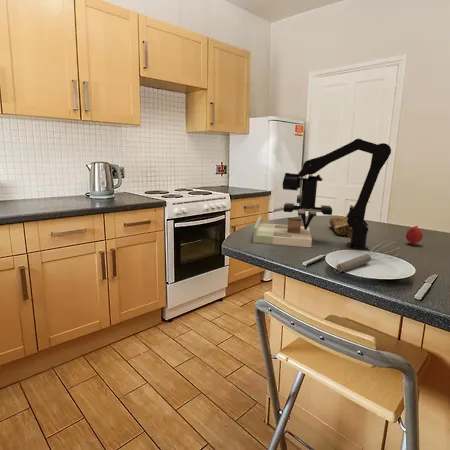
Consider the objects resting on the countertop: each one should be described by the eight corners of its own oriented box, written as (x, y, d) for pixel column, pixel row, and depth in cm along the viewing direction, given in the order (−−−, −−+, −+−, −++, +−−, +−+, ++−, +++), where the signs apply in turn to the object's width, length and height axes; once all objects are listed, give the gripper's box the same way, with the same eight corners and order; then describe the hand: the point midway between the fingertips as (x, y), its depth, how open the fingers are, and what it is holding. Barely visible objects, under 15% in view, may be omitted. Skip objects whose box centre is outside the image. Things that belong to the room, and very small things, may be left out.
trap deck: (311, 247, 126) (312, 232, 125) (253, 242, 130) (254, 227, 129) (308, 233, 147) (309, 220, 146) (258, 229, 151) (259, 216, 150)
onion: (412, 247, 132) (415, 227, 130) (401, 243, 137) (404, 224, 135) (424, 246, 133) (427, 227, 132) (412, 242, 139) (415, 223, 137)
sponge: (358, 241, 143) (359, 222, 159) (357, 224, 140) (358, 207, 157) (327, 242, 148) (330, 224, 165) (325, 226, 145) (329, 209, 162)
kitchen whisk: (326, 270, 104) (328, 251, 102) (385, 254, 123) (387, 237, 121) (343, 277, 99) (346, 257, 97) (401, 259, 118) (404, 242, 117)
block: (299, 233, 134) (301, 221, 133) (287, 232, 135) (288, 220, 134) (299, 230, 139) (300, 218, 138) (287, 229, 140) (288, 218, 139)
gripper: (331, 190, 139) (327, 226, 142) (285, 187, 142) (282, 223, 146) (334, 194, 128) (330, 233, 132) (285, 191, 131) (282, 229, 135)
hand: (305, 229), depth 136 cm, fingers closed
